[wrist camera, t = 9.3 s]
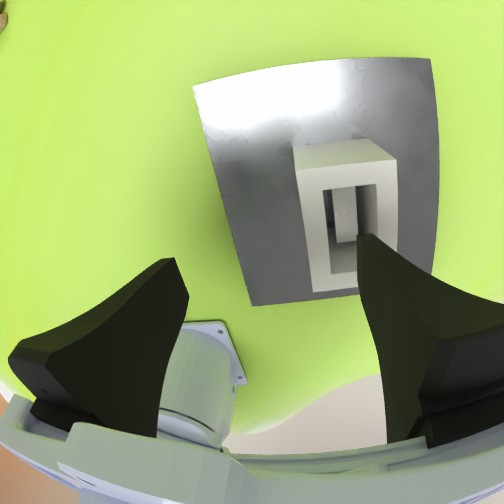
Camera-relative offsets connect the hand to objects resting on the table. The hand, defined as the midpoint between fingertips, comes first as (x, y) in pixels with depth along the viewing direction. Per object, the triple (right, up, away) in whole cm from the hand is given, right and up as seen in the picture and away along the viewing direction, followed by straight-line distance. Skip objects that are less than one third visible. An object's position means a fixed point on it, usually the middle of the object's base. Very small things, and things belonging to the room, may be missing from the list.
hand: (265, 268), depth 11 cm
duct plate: (+5, +5, +7) cm, 9 cm away
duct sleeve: (+5, +4, +6) cm, 9 cm away
